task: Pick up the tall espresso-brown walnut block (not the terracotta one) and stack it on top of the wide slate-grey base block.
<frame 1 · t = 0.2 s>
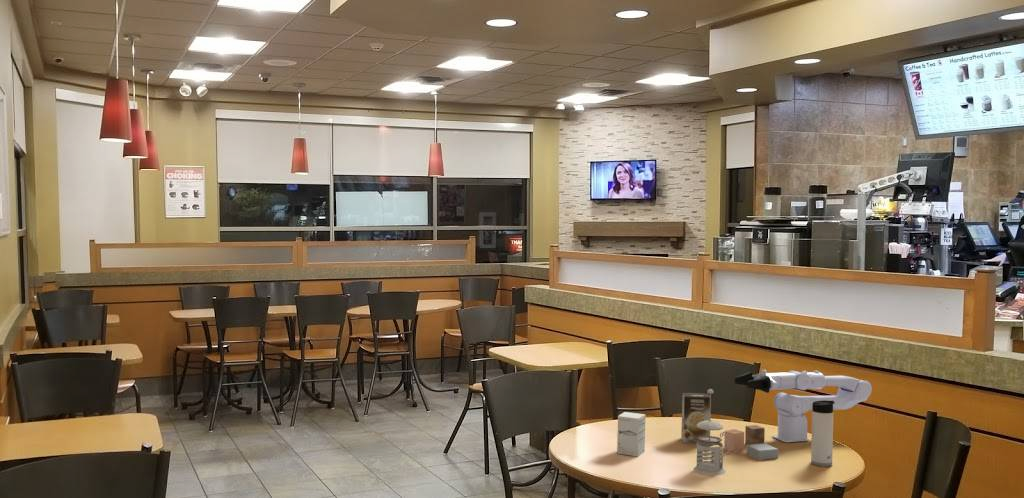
hand: (741, 382, 289), 21 cm above the table, tool horizontal, fingers open, 7 cm apart
terracotta block: (734, 449, 283), on the table
supplement box: (631, 453, 278), on the table
french press: (712, 471, 259), on the table
travel mug: (822, 464, 266), on the table
walnut block: (754, 444, 289), on the table
base block: (762, 456, 275), on the table
coffee box: (695, 441, 293), on the table
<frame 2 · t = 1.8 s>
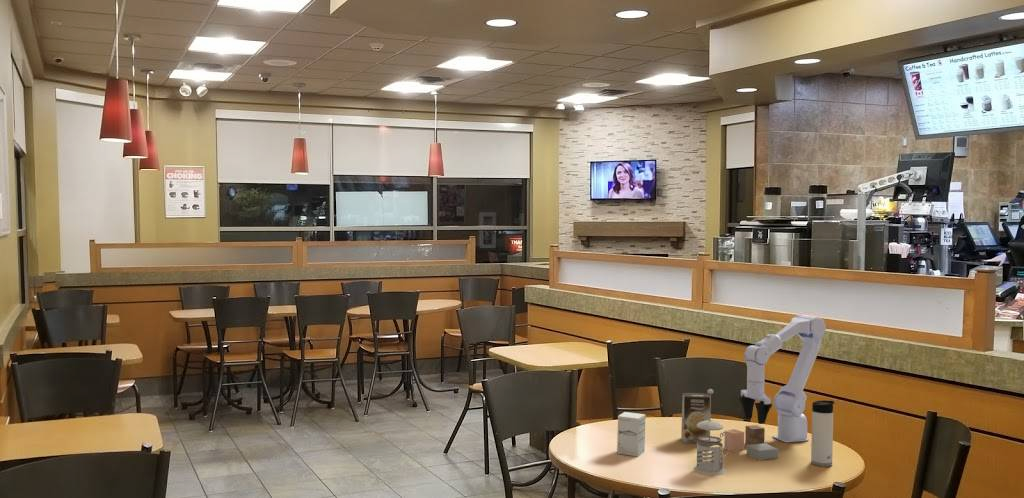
hand: (755, 420, 289), 8 cm above the table, tool pointing down, fingers open, 7 cm apart
nothing on the table moved.
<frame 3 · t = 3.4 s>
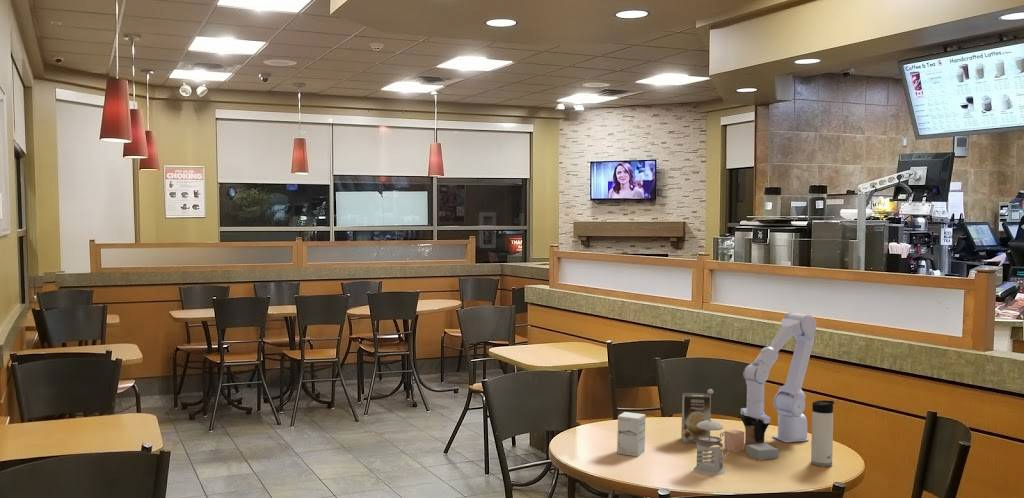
hand: (754, 439, 289), 2 cm above the table, tool pointing down, fingers closed on walnut block, 4 cm apart
walnut block: (754, 444, 289), on the table, touching gripper
everything else where it was.
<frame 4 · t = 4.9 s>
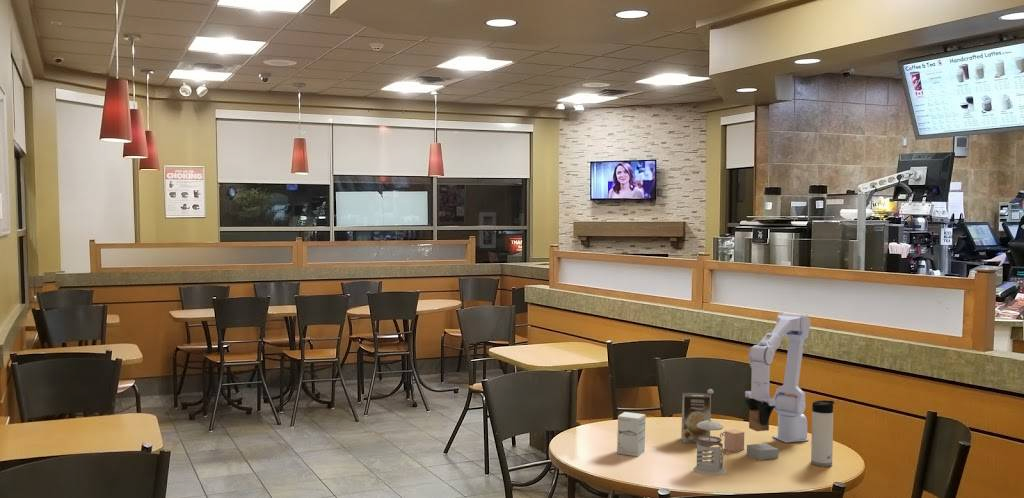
hand: (759, 423, 279), 10 cm above the table, tool pointing down, fingers closed on walnut block, 4 cm apart
walnut block: (758, 429, 279), point 8 cm above the table, touching gripper
everything else where it was.
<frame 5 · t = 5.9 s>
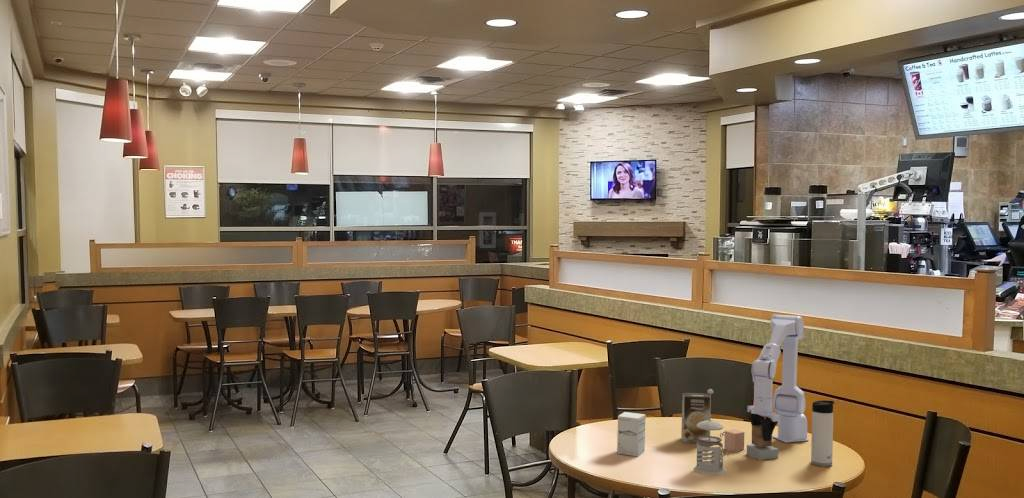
hand: (762, 438, 274), 6 cm above the table, tool pointing down, fingers closed on walnut block, 4 cm apart
walnut block: (761, 444, 274), point 4 cm above the table, touching gripper
everything else where it was.
when the fingers open (6 cm above the table, at t = 6.8 s): walnut block stays where it is, resting on base block.
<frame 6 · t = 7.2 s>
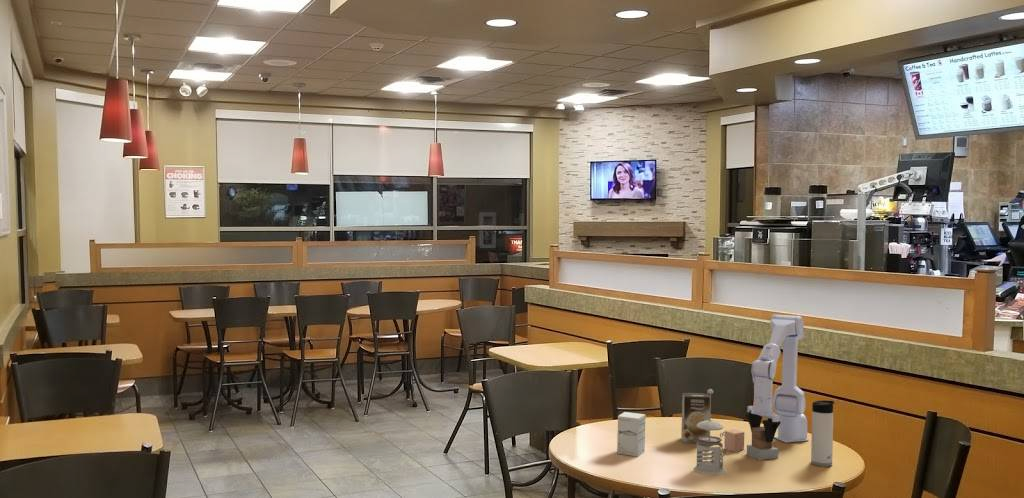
hand: (762, 438, 274), 6 cm above the table, tool pointing down, fingers open, 7 cm apart
walnut block: (761, 446, 275), point 3 cm above the table, touching base block
everything else where it was.
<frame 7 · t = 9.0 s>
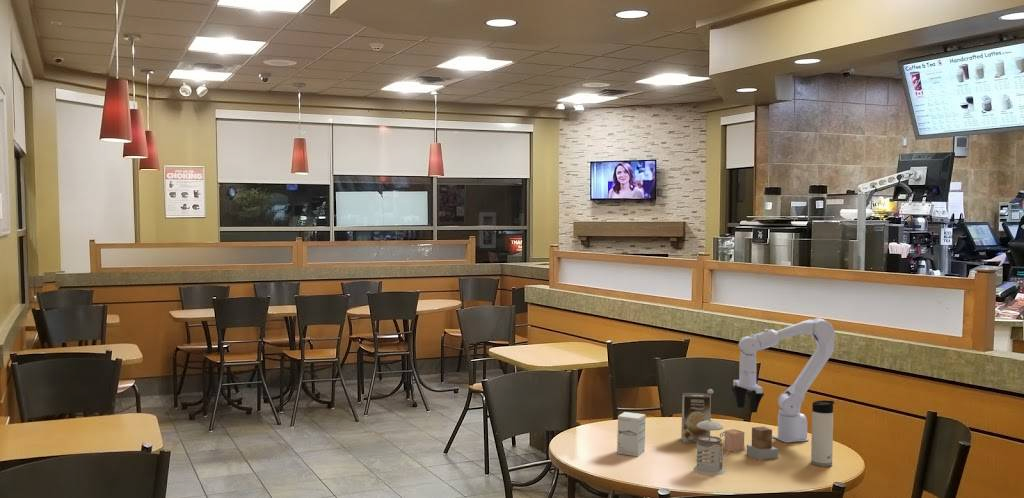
hand: (747, 409, 297), 10 cm above the table, tool pointing down, fingers open, 7 cm apart
nothing on the table moved.
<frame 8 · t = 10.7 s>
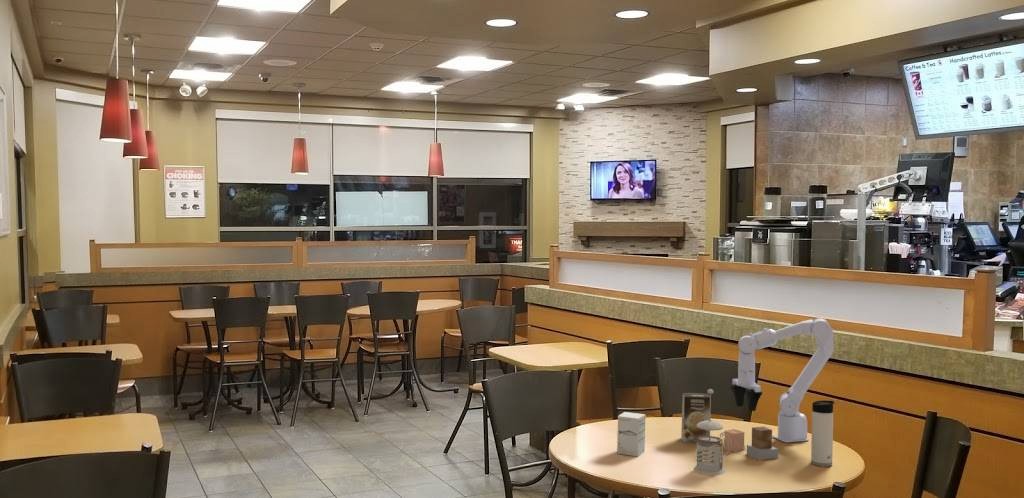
hand: (746, 408, 299), 10 cm above the table, tool pointing down, fingers open, 7 cm apart
nothing on the table moved.
at the end: walnut block 0.2 cm off-centre on the base block, point 3.0 cm above the base block's base; walnut block tilted 0°; the gripper is holding nothing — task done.
